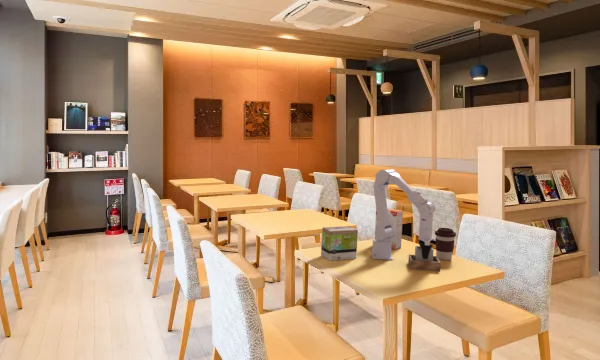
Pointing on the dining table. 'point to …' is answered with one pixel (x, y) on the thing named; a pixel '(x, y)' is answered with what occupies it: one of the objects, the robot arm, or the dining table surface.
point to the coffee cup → (444, 243)
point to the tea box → (339, 243)
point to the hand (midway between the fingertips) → (424, 256)
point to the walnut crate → (424, 264)
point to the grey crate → (419, 254)
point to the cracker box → (395, 226)
